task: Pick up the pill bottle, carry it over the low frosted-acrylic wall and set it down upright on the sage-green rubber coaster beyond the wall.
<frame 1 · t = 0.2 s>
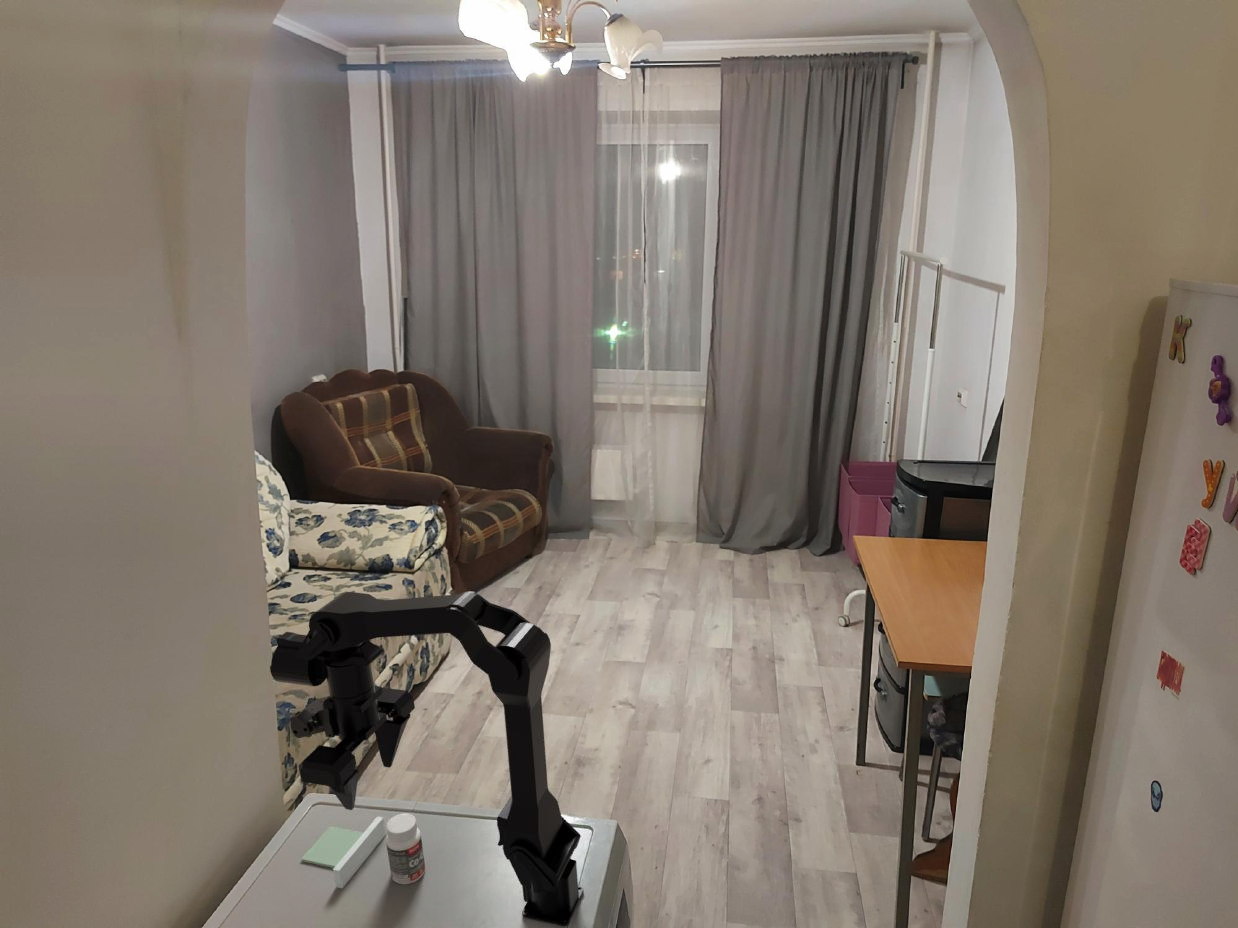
hand: (369, 786, 118), 13 cm above the table, fingers open, 9 cm apart
pill bottle: (408, 873, 120), on the table
acrylic wall: (362, 859, 123), on the table
coaster: (336, 848, 126), on the table
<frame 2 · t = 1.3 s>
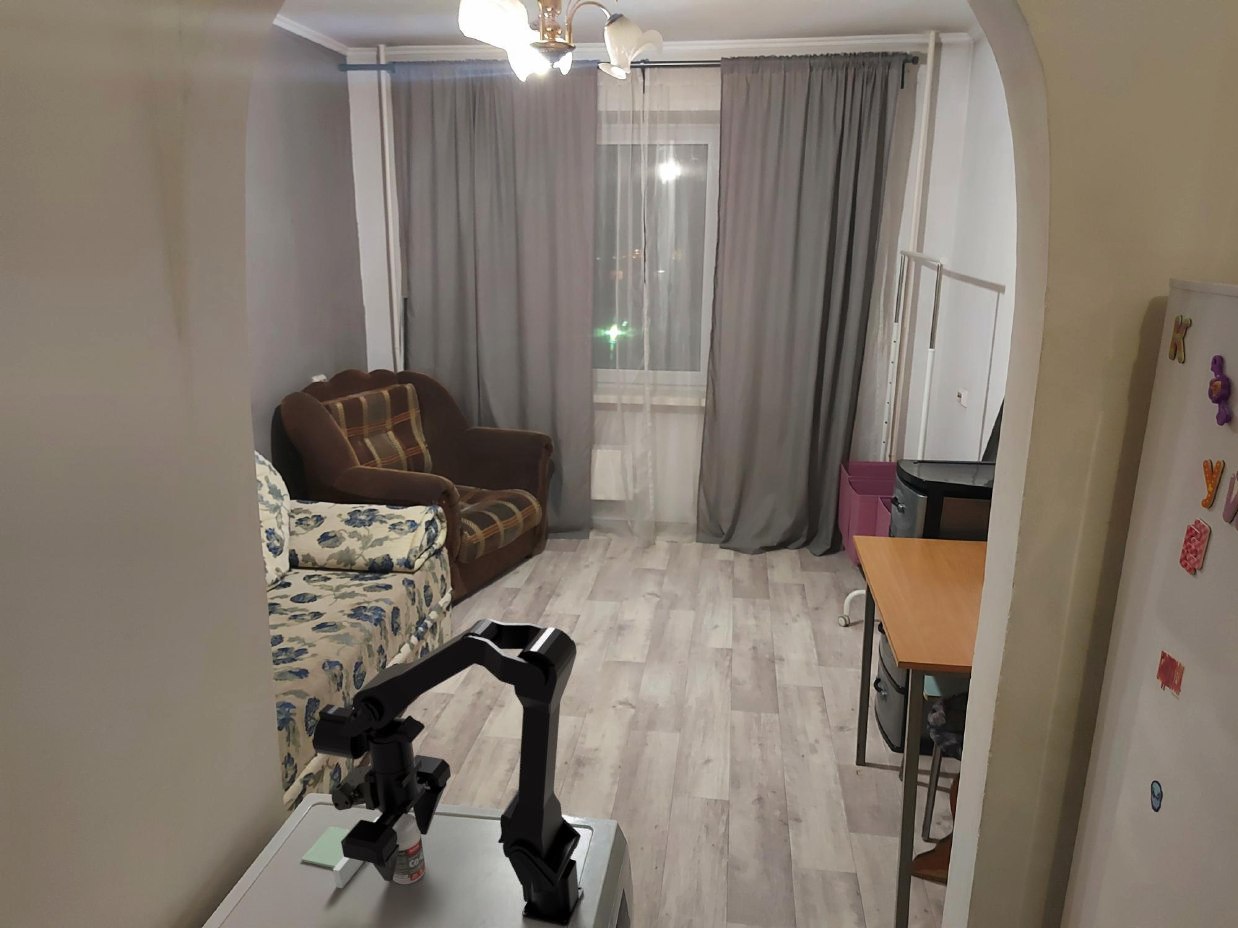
hand: (406, 856, 119), 3 cm above the table, fingers open, 9 cm apart
nothing on the table moved.
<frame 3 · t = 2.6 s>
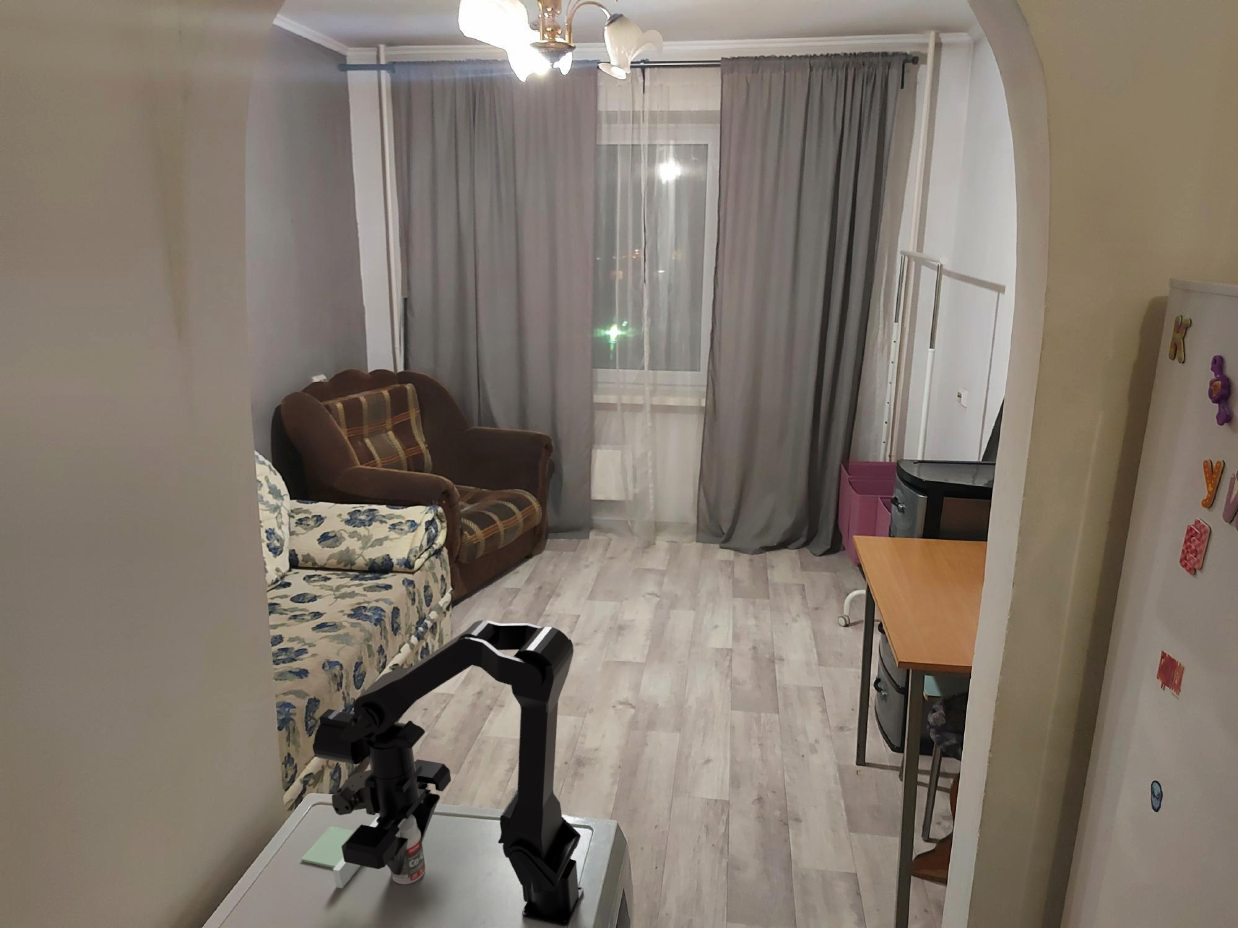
hand: (407, 860, 120), 2 cm above the table, fingers closed on pill bottle, 5 cm apart
pill bottle: (408, 873, 120), on the table, touching gripper
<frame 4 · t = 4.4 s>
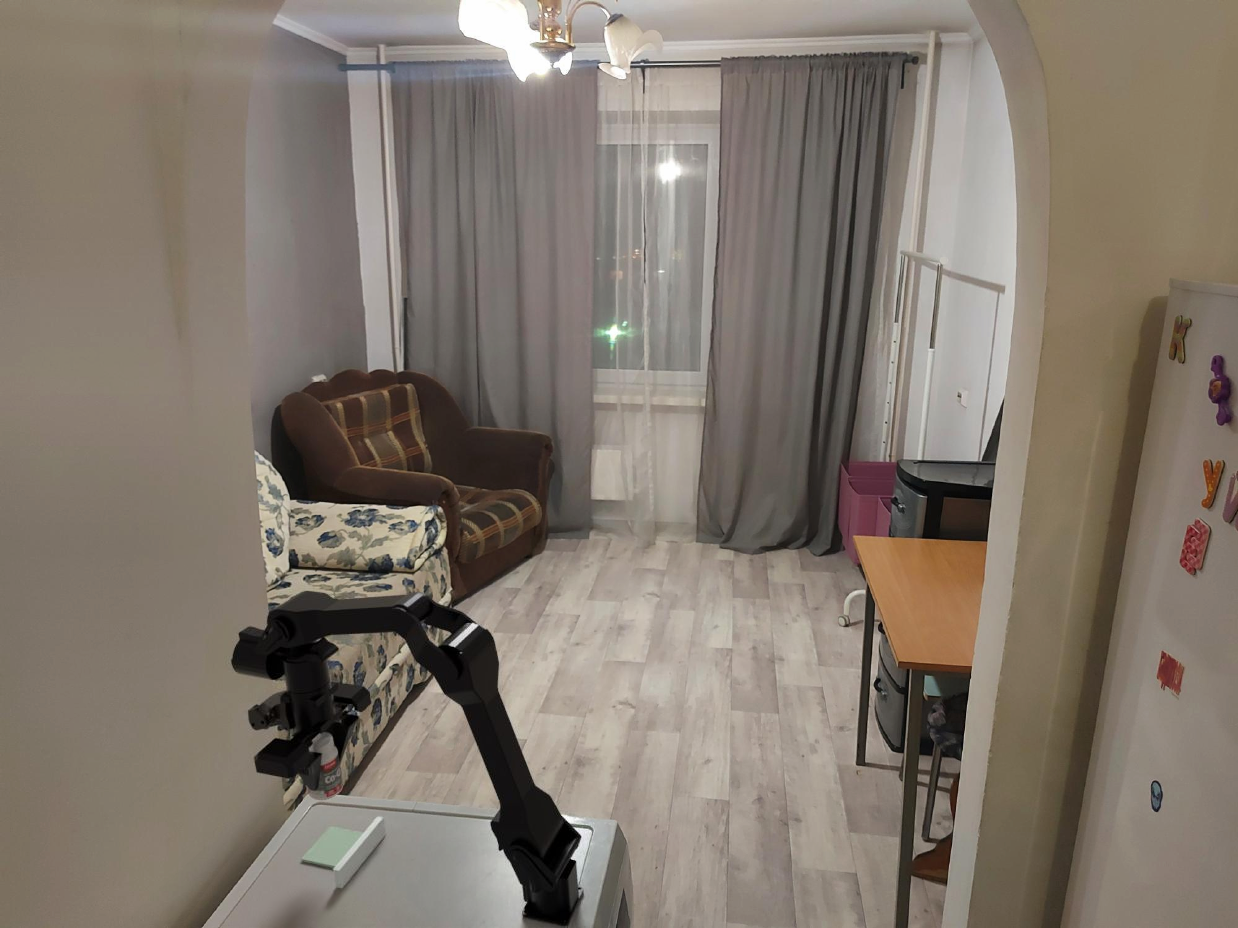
hand: (324, 778, 122), 12 cm above the table, fingers closed on pill bottle, 5 cm apart
pill bottle: (326, 791, 123), point 10 cm above the table, touching gripper
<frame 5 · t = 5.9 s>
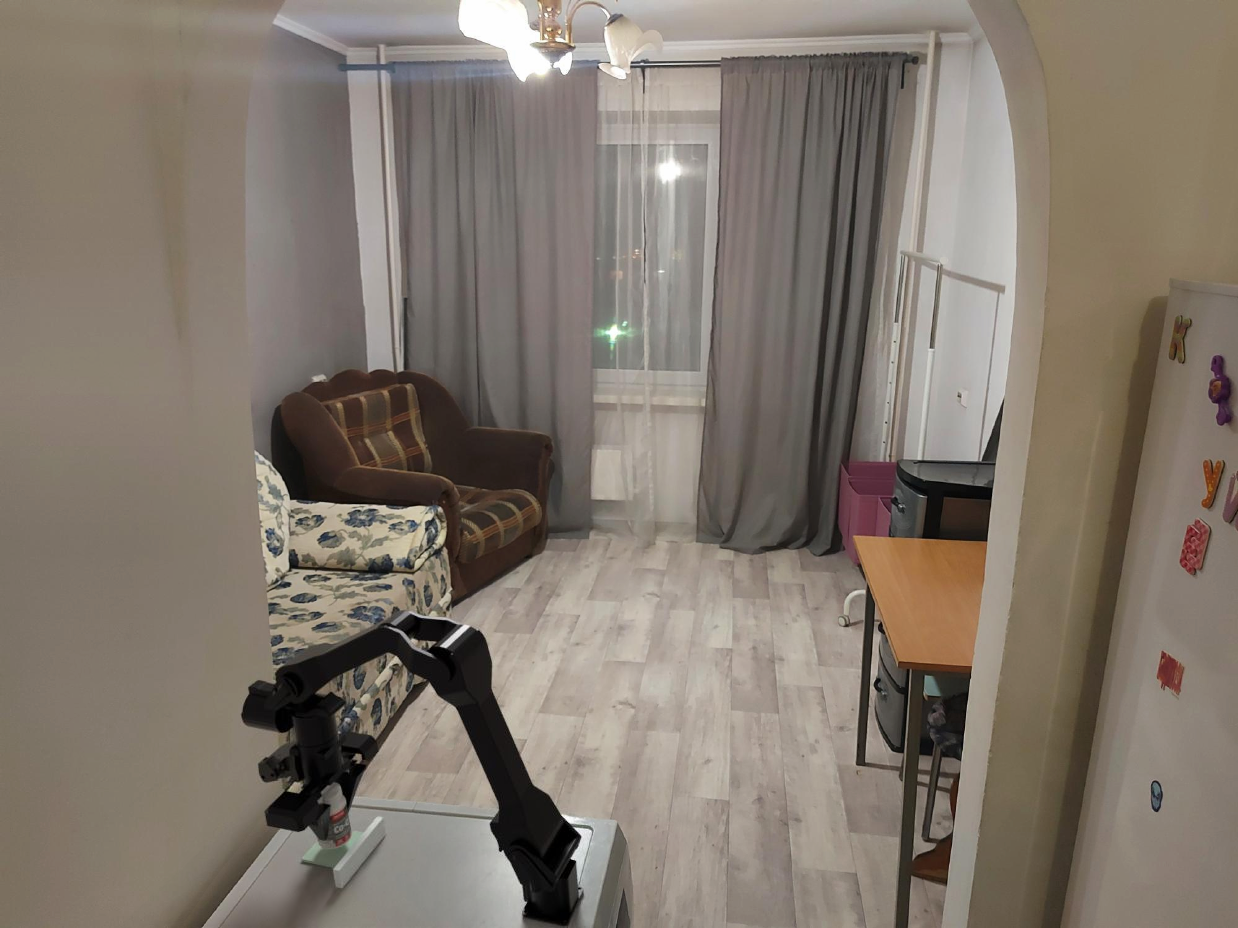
hand: (333, 827, 125), 4 cm above the table, fingers closed on pill bottle, 5 cm apart
pill bottle: (335, 839, 125), point 2 cm above the table, touching gripper
when the fingers open (3 cm above the table, at t = 6.8 s): pill bottle stays where it is, resting on coaster.
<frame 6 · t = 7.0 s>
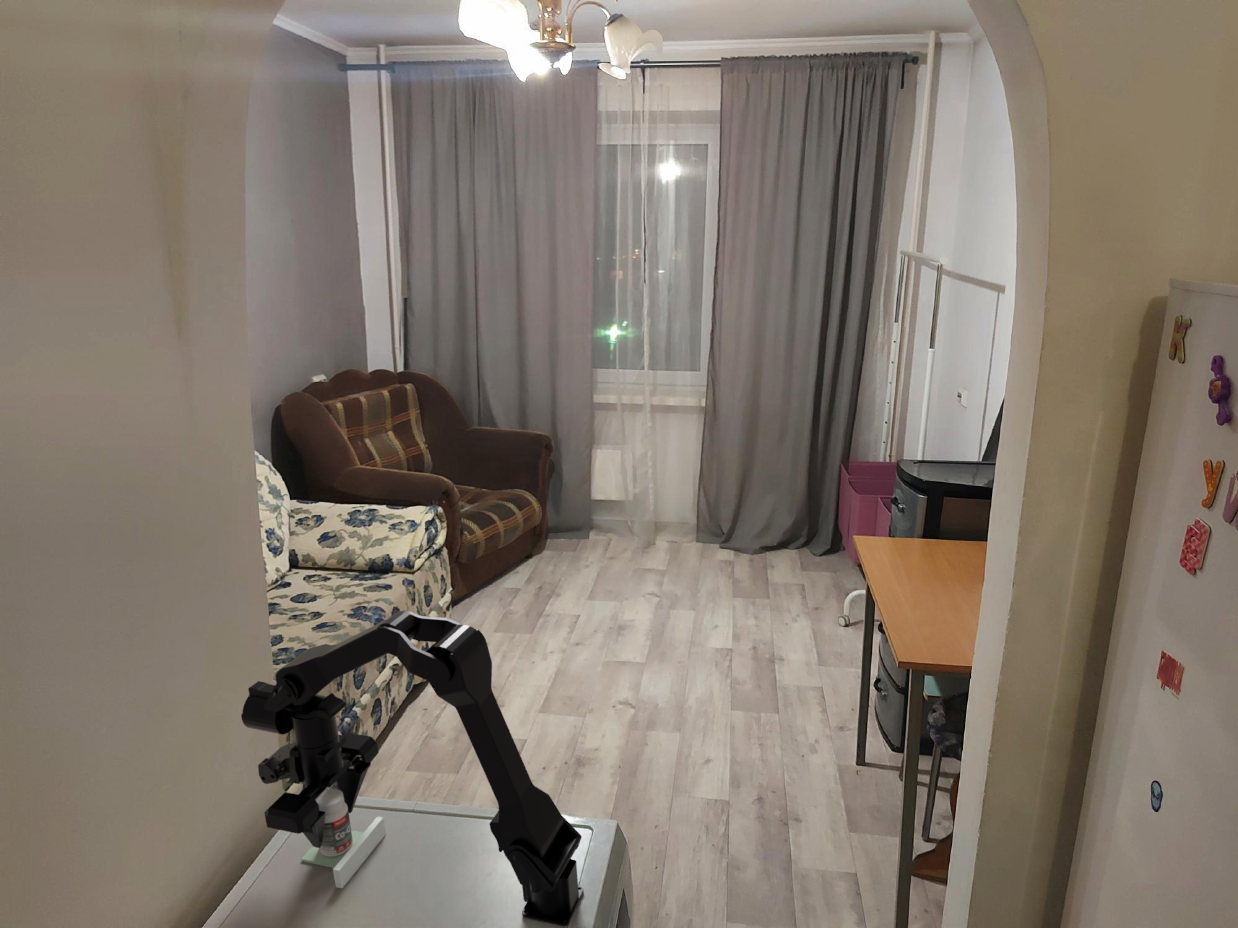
hand: (333, 828, 125), 3 cm above the table, fingers open, 7 cm apart
pill bottle: (336, 847, 126), resting on coaster
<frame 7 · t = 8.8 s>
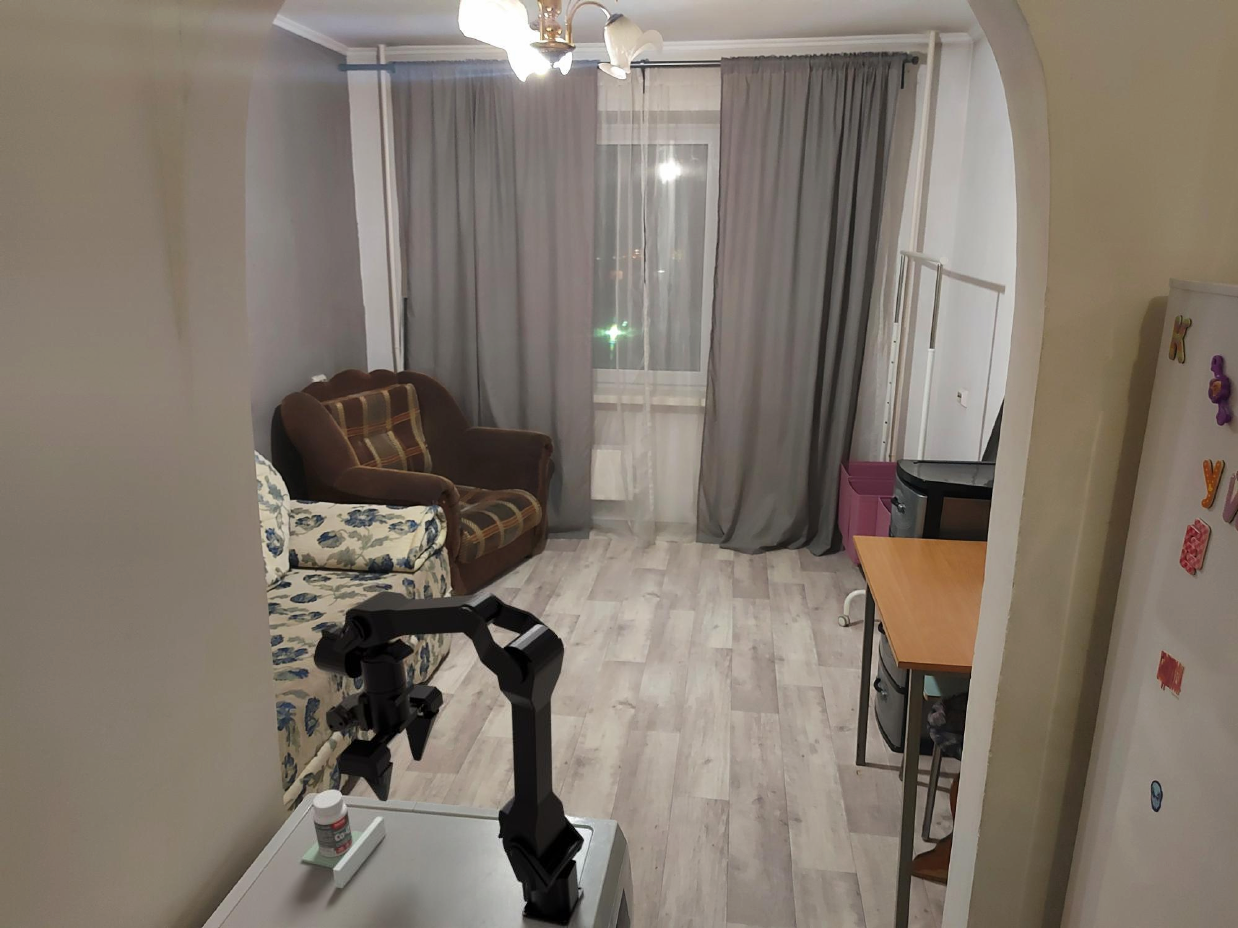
hand: (401, 779, 122), 12 cm above the table, fingers open, 9 cm apart
nothing on the table moved.
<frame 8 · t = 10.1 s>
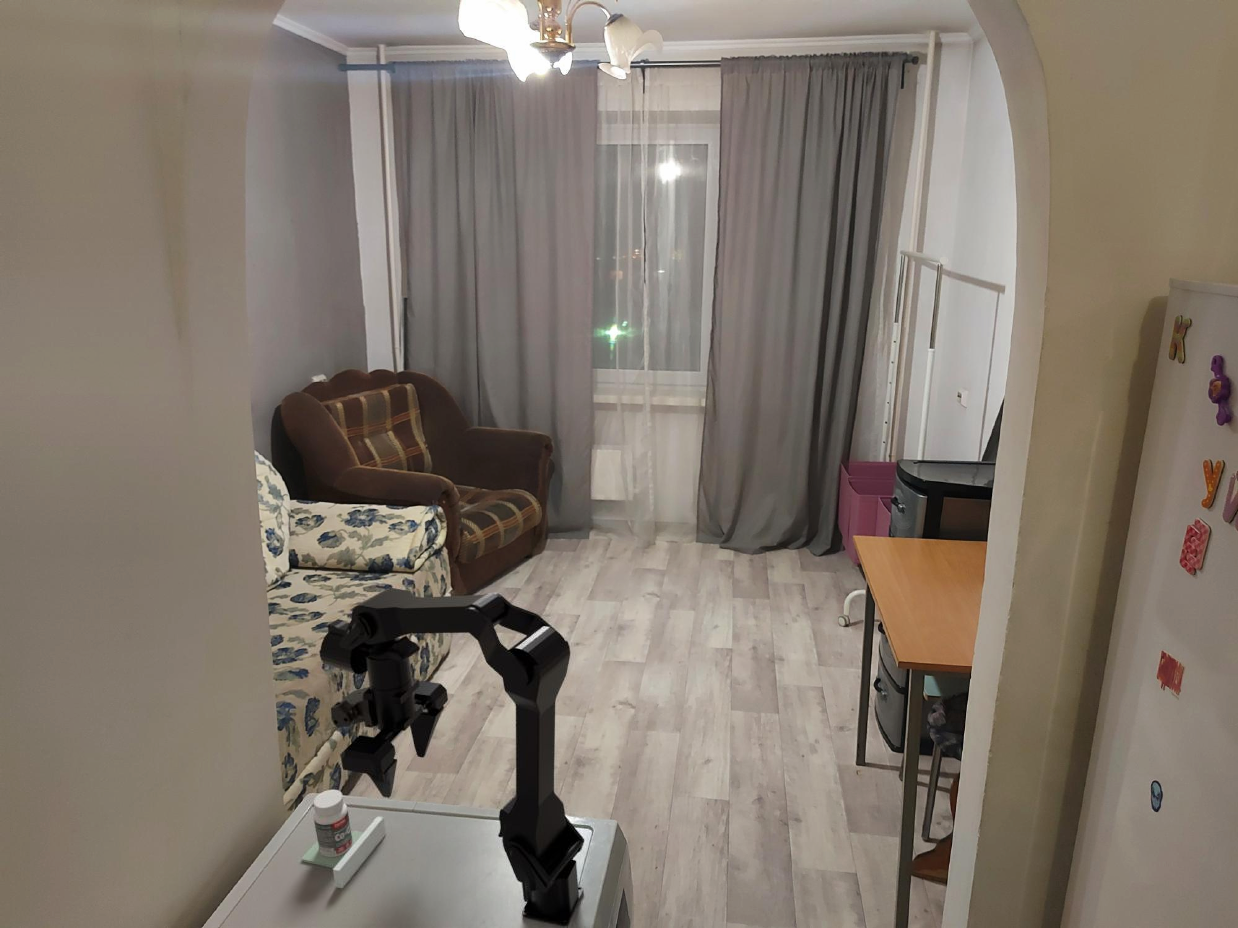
hand: (404, 775, 122), 12 cm above the table, fingers open, 9 cm apart
nothing on the table moved.
at the end: pill bottle inside the target area on the coaster (0.1 cm from its centre), point 0.2 cm above the coaster's base; pill bottle tilted 0°; the gripper is holding nothing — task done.
